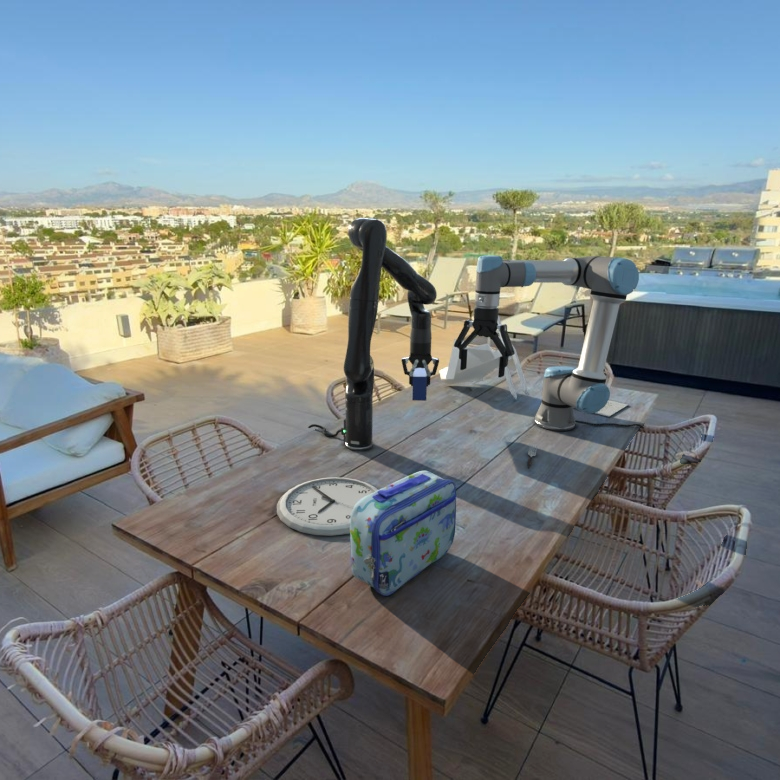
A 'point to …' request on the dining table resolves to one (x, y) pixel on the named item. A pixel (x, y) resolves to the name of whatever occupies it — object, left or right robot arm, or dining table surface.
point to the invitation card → (611, 408)
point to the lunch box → (402, 530)
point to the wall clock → (322, 505)
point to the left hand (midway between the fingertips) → (419, 385)
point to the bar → (419, 384)
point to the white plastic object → (480, 366)
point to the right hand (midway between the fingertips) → (481, 372)
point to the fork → (531, 456)
